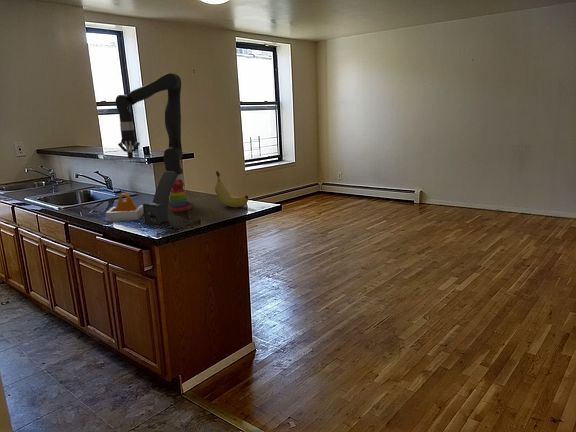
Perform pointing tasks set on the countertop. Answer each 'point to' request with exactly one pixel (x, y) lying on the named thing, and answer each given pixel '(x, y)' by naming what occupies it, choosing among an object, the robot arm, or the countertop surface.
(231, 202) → the banana
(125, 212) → the bracket
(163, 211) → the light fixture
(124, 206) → the orange tapered block
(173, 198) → the stacking bear
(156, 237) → the countertop surface
